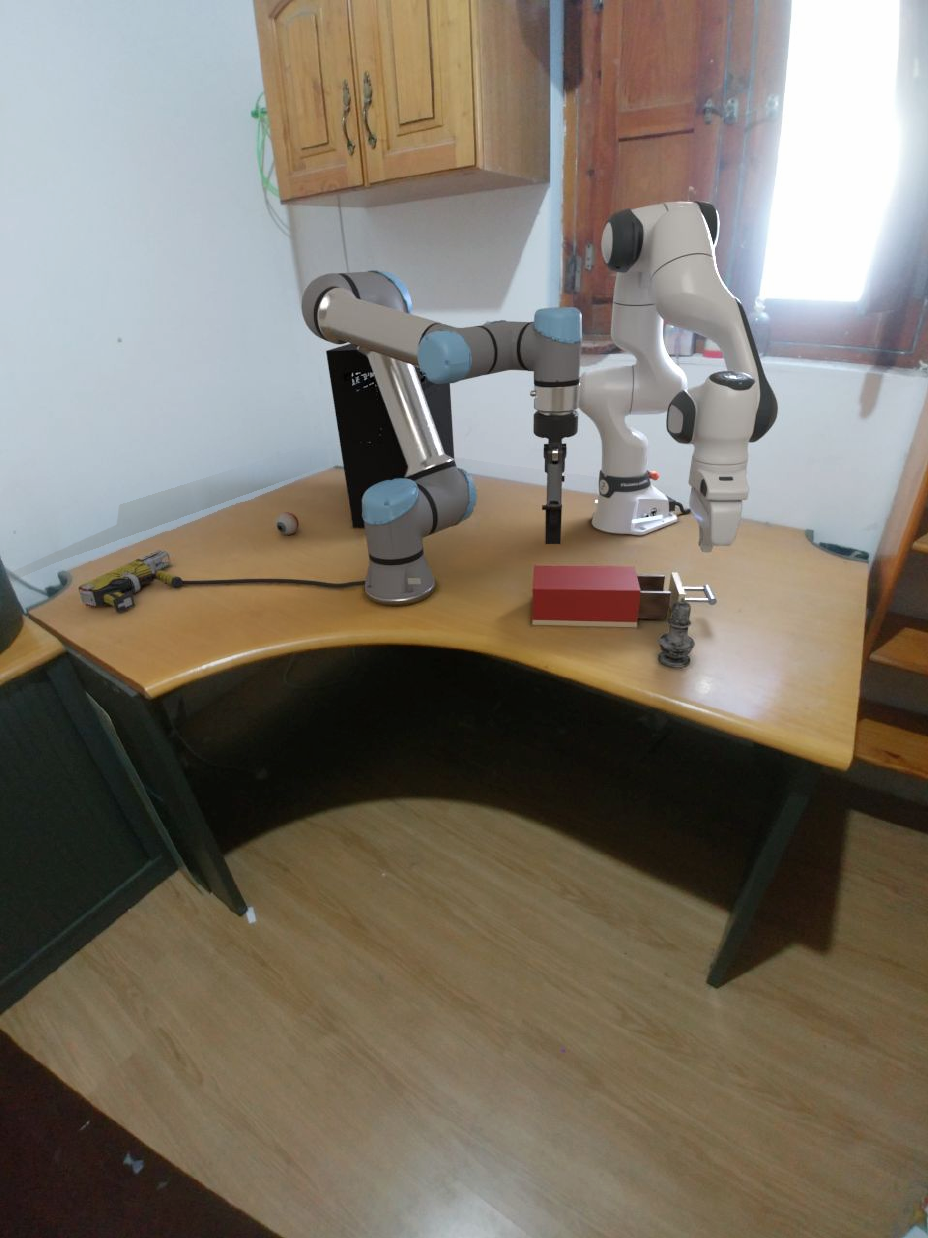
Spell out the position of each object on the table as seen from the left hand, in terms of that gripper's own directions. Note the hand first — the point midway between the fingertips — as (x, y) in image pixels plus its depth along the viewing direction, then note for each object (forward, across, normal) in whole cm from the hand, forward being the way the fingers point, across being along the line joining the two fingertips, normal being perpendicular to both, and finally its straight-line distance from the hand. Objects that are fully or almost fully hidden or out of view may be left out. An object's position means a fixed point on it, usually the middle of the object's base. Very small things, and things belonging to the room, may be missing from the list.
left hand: (553, 529), depth 112 cm
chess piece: (+18, +16, +21) cm, 32 cm away
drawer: (+17, 0, +18) cm, 25 cm away
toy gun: (+18, -7, -93) cm, 95 cm away
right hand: (+4, 0, +28) cm, 28 cm away
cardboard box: (+18, -63, -43) cm, 78 cm away
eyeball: (+18, -40, -71) cm, 84 cm away
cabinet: (+18, 0, +6) cm, 19 cm away
